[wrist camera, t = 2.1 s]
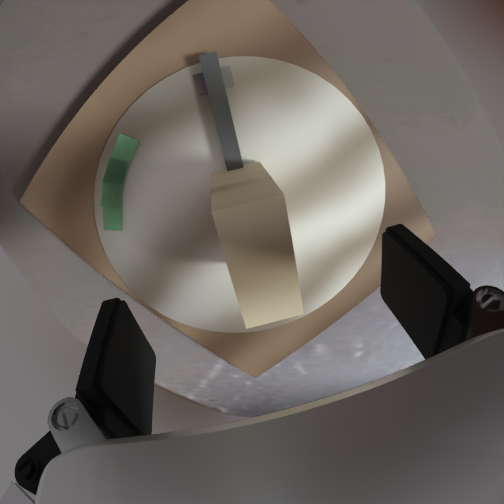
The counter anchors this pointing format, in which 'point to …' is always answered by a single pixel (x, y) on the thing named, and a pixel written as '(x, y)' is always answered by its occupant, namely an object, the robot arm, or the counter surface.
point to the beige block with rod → (250, 221)
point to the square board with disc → (212, 160)
